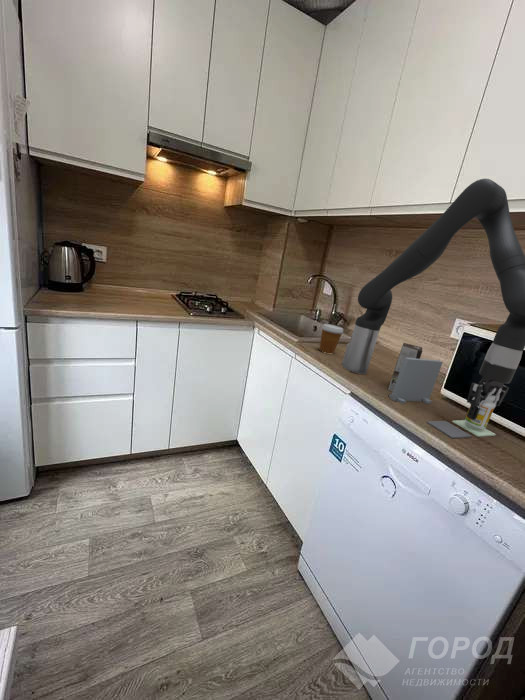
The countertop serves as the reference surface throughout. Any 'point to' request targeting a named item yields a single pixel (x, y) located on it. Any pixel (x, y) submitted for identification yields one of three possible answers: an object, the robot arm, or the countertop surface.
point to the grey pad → (449, 429)
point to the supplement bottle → (483, 413)
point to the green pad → (473, 429)
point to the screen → (416, 380)
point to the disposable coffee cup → (330, 337)
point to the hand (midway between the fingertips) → (477, 417)
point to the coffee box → (405, 352)
